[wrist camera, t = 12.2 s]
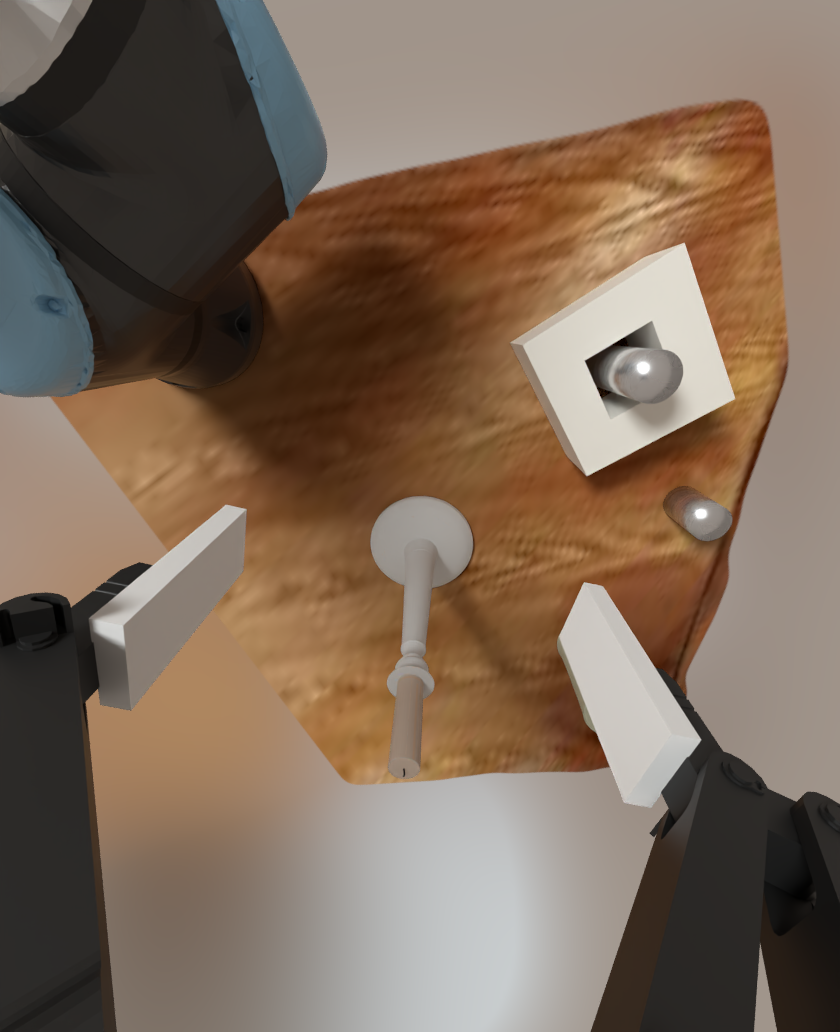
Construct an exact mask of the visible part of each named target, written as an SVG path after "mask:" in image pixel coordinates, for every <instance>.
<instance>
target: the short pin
mask: <svg viewBox="0 0 840 1032" xmlns="http://www.w3.org/2000/svg"><path fill="white" fill-rule="evenodd" d="M663 509H664V511H665V513H666V514H667V515H668V516H670V517H671V518H672V519H673V520H675V521H676V522H677V523H678V524H680V525H681V526H682V527H683V528H684V529H686V530H687V531H688V532H689V533H691V534H692V535H693V536H694V537H696V538H697V539H699V540H702V541H712V540H715V539H718V538H720V537H721V536H723V535H724V534H725V533H726V532H727V531H728V530H729V528H730V526H731V524H732V515H731V513H730V512H729V511H728V510H727V509H726V508H724V507H723V506H721V505H719V504H718V503H716V502H715V501H713V500H711V499H710V498H708V497H707V496H705V495H703V494H702V493H700V492H699V491H697V490H695V489H694V488H692V487H688V486H682V487H678V488H675V489H674V490H672V491H671V492H669V493H668V495H667V496H666V497H665V499H664V502H663Z"/></svg>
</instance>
